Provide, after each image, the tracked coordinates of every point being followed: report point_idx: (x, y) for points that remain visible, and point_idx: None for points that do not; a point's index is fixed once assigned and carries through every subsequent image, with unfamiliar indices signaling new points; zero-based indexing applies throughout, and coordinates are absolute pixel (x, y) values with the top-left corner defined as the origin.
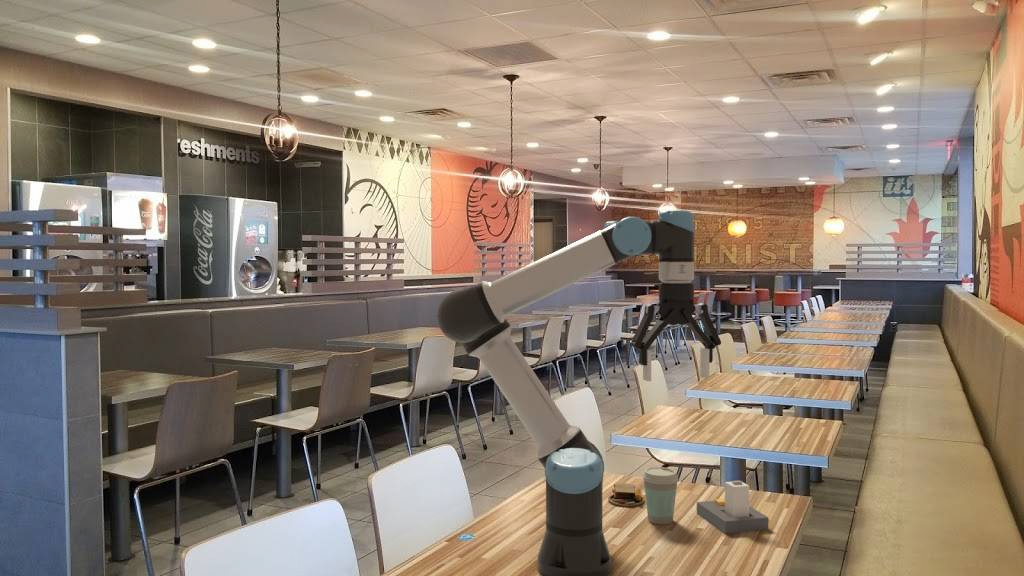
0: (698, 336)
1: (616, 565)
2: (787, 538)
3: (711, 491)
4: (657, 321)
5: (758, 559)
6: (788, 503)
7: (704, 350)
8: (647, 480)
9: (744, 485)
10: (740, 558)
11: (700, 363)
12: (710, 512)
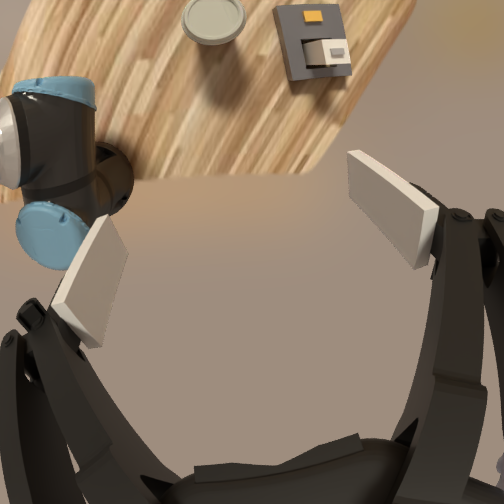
0: (434, 304)
1: (139, 175)
2: (354, 100)
3: None
4: (92, 486)
5: (299, 154)
6: (398, 5)
7: (412, 247)
8: (186, 32)
9: (344, 60)
10: (281, 151)
11: (375, 172)
12: (284, 42)
